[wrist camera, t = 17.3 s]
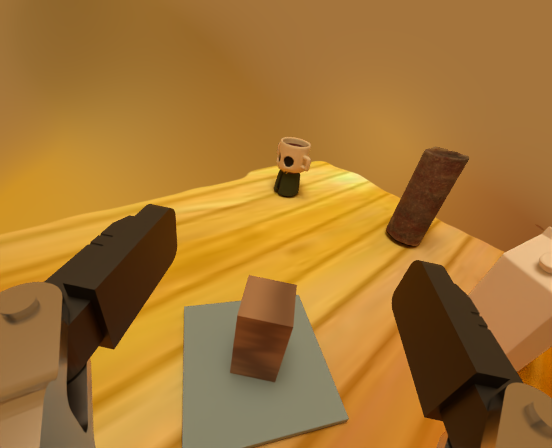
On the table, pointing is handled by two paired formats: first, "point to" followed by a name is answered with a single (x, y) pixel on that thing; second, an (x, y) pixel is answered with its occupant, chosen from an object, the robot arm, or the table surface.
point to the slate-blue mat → (251, 385)
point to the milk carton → (519, 300)
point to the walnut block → (263, 328)
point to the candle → (425, 194)
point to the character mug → (291, 164)
